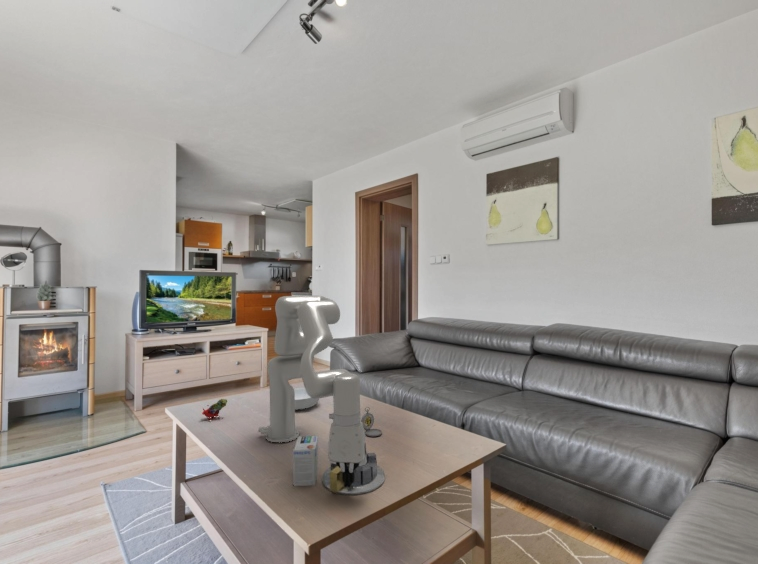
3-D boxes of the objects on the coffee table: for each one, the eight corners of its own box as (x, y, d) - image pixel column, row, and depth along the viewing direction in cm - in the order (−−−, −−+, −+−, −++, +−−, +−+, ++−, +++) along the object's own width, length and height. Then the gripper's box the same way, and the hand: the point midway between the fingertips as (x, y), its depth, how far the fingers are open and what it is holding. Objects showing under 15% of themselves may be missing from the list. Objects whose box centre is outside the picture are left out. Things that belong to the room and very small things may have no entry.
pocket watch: (380, 438, 149) (379, 412, 149) (359, 436, 150) (358, 411, 151) (384, 430, 157) (383, 405, 157) (364, 429, 159) (363, 404, 159)
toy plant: (218, 429, 172) (230, 412, 168) (196, 423, 168) (207, 405, 164) (221, 415, 179) (232, 398, 175) (200, 409, 175) (210, 391, 171)
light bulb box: (297, 469, 124) (297, 436, 124) (318, 468, 124) (318, 435, 125) (292, 486, 113) (292, 450, 113) (315, 485, 114) (315, 448, 114)
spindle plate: (320, 497, 107) (320, 461, 107) (324, 465, 126) (323, 435, 126) (388, 493, 109) (387, 457, 109) (381, 462, 128) (381, 432, 128)
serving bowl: (286, 400, 200) (286, 387, 200) (325, 401, 198) (325, 388, 198) (270, 413, 180) (270, 398, 180) (313, 414, 177) (313, 399, 177)
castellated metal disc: (329, 465, 124) (329, 449, 124) (373, 462, 126) (373, 446, 126) (330, 492, 107) (329, 474, 107) (380, 488, 109) (380, 470, 109)
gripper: (317, 421, 106) (318, 489, 106) (369, 424, 103) (371, 493, 103) (326, 413, 114) (327, 476, 113) (375, 415, 111) (377, 480, 110)
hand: (348, 484), depth 108 cm, fingers closed
